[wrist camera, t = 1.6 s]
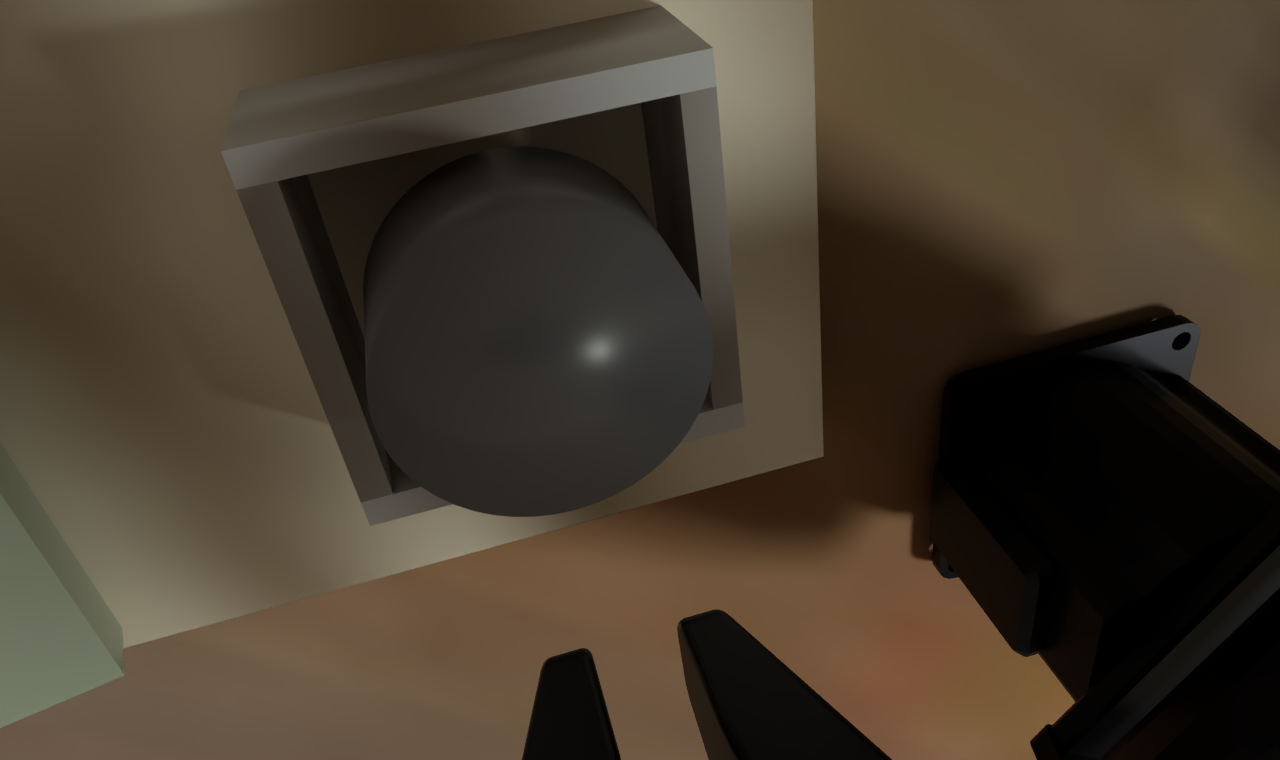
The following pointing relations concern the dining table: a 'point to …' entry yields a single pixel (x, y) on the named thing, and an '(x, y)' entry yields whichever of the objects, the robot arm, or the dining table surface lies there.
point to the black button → (529, 335)
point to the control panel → (354, 261)
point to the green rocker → (46, 610)
